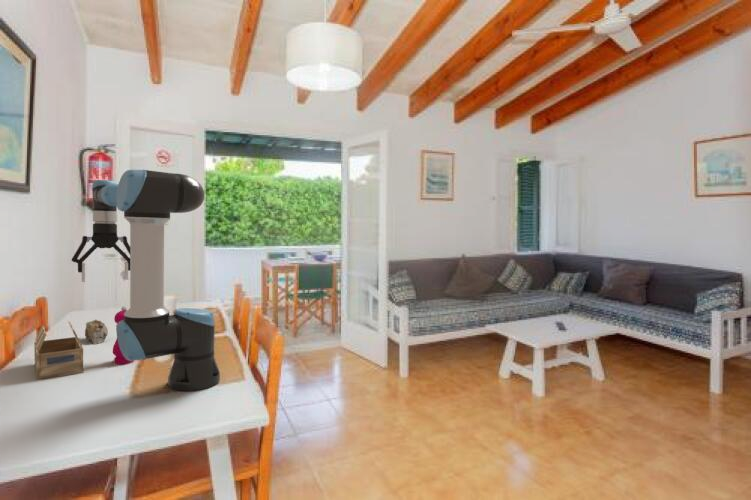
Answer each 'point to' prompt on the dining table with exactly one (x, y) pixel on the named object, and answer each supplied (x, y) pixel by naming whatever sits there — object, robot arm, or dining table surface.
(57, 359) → the carton
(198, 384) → the robot arm
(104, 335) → the rock
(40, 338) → the flap left
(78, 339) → the flap right
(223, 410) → the dining table surface
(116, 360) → the pepper mill
